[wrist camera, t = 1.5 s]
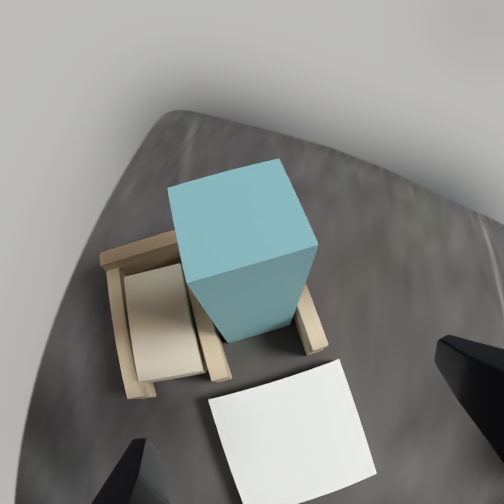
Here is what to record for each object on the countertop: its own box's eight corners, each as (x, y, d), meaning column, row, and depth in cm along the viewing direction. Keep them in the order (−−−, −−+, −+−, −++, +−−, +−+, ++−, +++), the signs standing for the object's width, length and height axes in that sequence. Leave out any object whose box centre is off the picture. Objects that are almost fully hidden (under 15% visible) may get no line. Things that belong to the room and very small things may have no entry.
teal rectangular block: (289, 324, 22) (318, 244, 10) (228, 343, 21) (186, 283, 10) (272, 274, 23) (279, 158, 12) (213, 291, 23) (167, 188, 12)
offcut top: (206, 372, 19) (201, 370, 17) (149, 383, 19) (138, 381, 17) (186, 274, 22) (179, 263, 20) (134, 286, 21) (123, 276, 20)
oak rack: (320, 351, 21) (331, 342, 17) (144, 399, 19) (120, 398, 16) (275, 229, 25) (277, 201, 21) (121, 274, 24) (99, 253, 20)
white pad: (372, 470, 17) (376, 473, 16) (248, 511, 16) (247, 516, 15) (335, 360, 20) (339, 358, 19) (210, 399, 20) (208, 399, 19)
